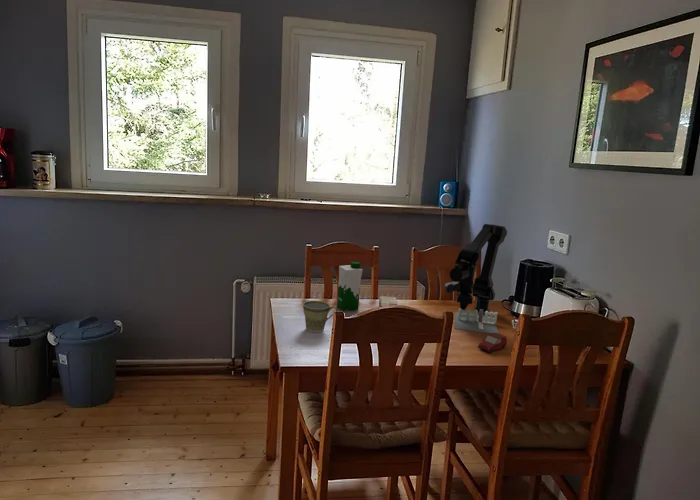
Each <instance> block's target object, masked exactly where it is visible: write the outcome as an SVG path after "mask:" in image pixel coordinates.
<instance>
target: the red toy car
mask: <svg viewBox="0 0 700 500" xmlns="http://www.w3.org/2000/svg"><path fill="white" fill-rule="evenodd" d="M507 345H508V339H507V336H506V335H503V334H501V333H499V332H498V333H496V332H495V333H491V334H490V333H487V335H486V337H485V338H484V339H482V341H481V342H479V343H478V346H477V348H478V349H481V350H484V351H486V352H488V353H490V354H491V353H493V352H494V351H495V350H498V349H505V347H506V346H507Z"/></svg>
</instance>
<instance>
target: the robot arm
mask: <svg viewBox="0 0 700 500" xmlns="http://www.w3.org/2000/svg"><path fill="white" fill-rule="evenodd" d="M481 227H482V228H481V230H480V231H479V232H478V234H477V235H476V236H475V237H474V239H473V240H472V241H471V242H470V243H468V244H465V246H463V247H462V248H461V250H460V251H459V253H458V256H457V257H456V260H455V262H454V264H455V265H454V268H451V270H450V272H449V278H450V279H451V281H449V282H446V283H445V284H444V288H445V292H446V294H449V293H452V292H457V294H456V303H459V307H460V308H461V309H462V310H467V307H468V306H469V305H473V301H474V298H473V297H476V302H475V306H474V307H473V309H474V310H473V311H475V310H477V311H478V313H479V312H480V309H482V310H484V311H483V314H485V312H486V311H488V312H489V313H490V309H489V307H490V306H489V305H490V301H494V300H495V297H496V292H495V291H494V288H493V287H494V282H493V279H492V275H493V271H494V267H495V264H496V259H497V255H498V251H499V246H500V245H501V244H503V243H504V241H505V238H506V237H507V235H508V229H507V228H506V227H505V225H504V226H503V225H498V224H497V225H496V224H489V223H484V224H483V225H482V226H481ZM486 244H487V246H486V250H485V255H484V258H483V259H484V260H483V263H482V267H481V269H480V270H481V271H480V275H478V277H475V272H476V267H478V264H477V263H478V262H479V260H480V258H481V251H482V250H483V248H484V246H485V245H486ZM474 277H475V278H474ZM461 313H463V312H461Z"/></svg>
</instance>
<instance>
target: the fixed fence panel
mask: <svg viewBox="0 0 700 500" xmlns="http://www.w3.org/2000/svg"><path fill="white" fill-rule="evenodd" d="M483 311H484V310H482V309H480V312H478V315H479V319H478V322H482V319H483V316H485V317H484V322H487V320H489V322H490V323H491V322H492V321H494V323H496V324H497V319H498V312H497V311H494V312H493V311H489V312H488V311H486V312H485V313H484V312H483ZM488 316H490V317H488ZM492 317H494V318H492Z"/></svg>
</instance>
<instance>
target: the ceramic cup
mask: <svg viewBox="0 0 700 500" xmlns="http://www.w3.org/2000/svg"><path fill="white" fill-rule="evenodd" d="M302 307H303V315H304V320H305V321H304V323H305V329H306V332H308V333H312V334H313V333H314V334H315V333H316V334H319V333H322V332H324V330H325V326H326V322H328V320H329V319H330V318H332V317H333V316H334V315H333V314H334V313H332V314H331V315H329V317H328V314H329V313H330V311H331V310H333V309H335V310H336V311H335V312H337V313H338V308H337V307H336V306H331V305H330V304H329V303H328V302H325V301H322V300H307V301H305V302H303V304H302Z"/></svg>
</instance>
